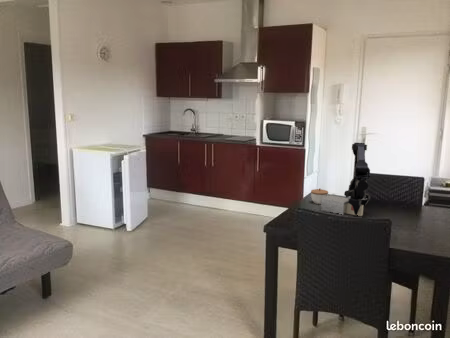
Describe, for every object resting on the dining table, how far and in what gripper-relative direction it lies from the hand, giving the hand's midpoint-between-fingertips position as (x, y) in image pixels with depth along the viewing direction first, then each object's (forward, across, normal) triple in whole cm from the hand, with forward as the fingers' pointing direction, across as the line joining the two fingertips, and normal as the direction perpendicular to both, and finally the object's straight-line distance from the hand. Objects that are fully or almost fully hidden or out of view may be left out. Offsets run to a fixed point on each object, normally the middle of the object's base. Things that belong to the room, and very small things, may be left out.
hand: (358, 212), depth 237 cm
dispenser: (+1, 0, -14) cm, 14 cm away
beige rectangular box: (+1, 0, -8) cm, 8 cm away
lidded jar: (+2, -10, -30) cm, 32 cm away
